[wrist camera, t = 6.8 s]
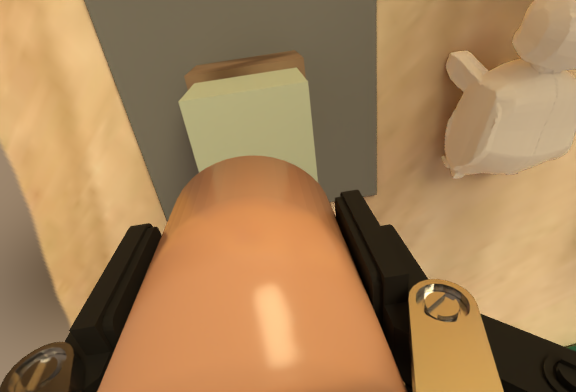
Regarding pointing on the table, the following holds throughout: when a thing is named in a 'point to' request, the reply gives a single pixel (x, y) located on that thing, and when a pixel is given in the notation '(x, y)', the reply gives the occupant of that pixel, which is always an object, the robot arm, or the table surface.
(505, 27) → the table surface
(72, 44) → the table surface
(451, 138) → the cream shape with stub
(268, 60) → the tower base
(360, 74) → the rubber mat
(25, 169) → the table surface
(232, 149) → the tower top
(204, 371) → the peach egg shape
